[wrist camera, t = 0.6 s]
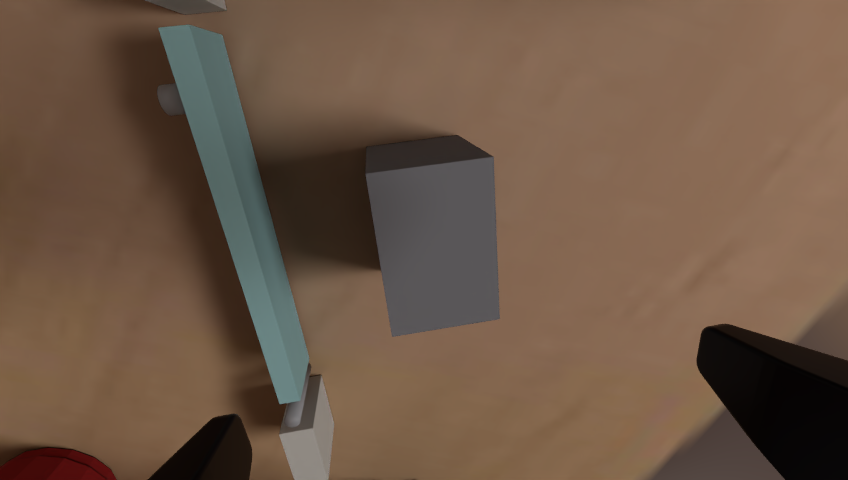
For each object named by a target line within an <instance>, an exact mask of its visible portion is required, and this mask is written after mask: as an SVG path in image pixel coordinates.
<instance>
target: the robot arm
mask: <svg viewBox="0 0 848 480" xmlns="http://www.w3.org/2000/svg"><path fill="white" fill-rule="evenodd" d="M697 366H698V369H699V371H700V373H701V374H702V376H703V377H704V379H705V380H706V381H707V383H708V384H709V385H710V386H711V388H712V389H713V390H714V392H715V393H716V394H717V396H718V397H719V398H720V400H721V401H722V402H723V404H724V405H725V406H726V408H727V409H728V410H729V412H730V413H731V414H732V416H733V417H734V418H735V420H736V421H737V422H738V424H739V425H740V426H741V428H742V429H743V430H744V432H745V433H746V434H747V436H748V437H749V438H750V439H751V441H752V442H753V443H754V444H755V446H756V447H757V448H758V449H759V450H760V452H761V453H762V454H763V455H764V456H765V457H766V459H767V460H768V461H769V462H770V463H771V464H772V465H773V467H774V468H775V469H776V470H777V471H778V472H779V473H780V474H781V476H782V477H783V478H784V479H785V480H848V361H847V360H844V359H841V358H838V357H834V356H831V355H828V354H824V353H821V352H818V351H815V350H811V349H808V348H805V347H801V346H798V345H795V344H792V343H789V342H785V341H782V340H779V339H775V338H772V337H769V336H766V335H762V334H759V333H756V332H753V331H749V330H746V329H743V328H740V327H736V326H733V325H730V324H719V325H714V326H708V327H706V328H704V329H703V331H702V333H701V337H700V343H699V348H698V354H697ZM251 463H252V447H251V444H250V441H249V439H248V436H247V433H246V431H245V428H244V425H243V423H242V420H241V418H240V417H239V416H238V415H237V414H229V415H223V416H218V417H215V418H212V419H211V420H210V421H209V422H208V423H207V424H205V425H204V426H203V427H202V428H201V429H200V430H199V431H198V432H197V433H196V434H195V435H194V436H193V437H192V438H191V439H190V440H189V441H188V442H187V443H186V444H184V445H183V446H182V447H181V448H180V449H179V450H178V451H177V452H176V453H175V454H174V455H173V456H172V457H171V458H170V459H169V460H168V461H167V462H166V463H165V464H164V465H162V466H161V467H160V468H159V469H158V470H157V471H156V472H155V473H154V474H153V475H152V476H151V477H150V478H149V479H148V480H249V476H250V470H251Z"/></svg>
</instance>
